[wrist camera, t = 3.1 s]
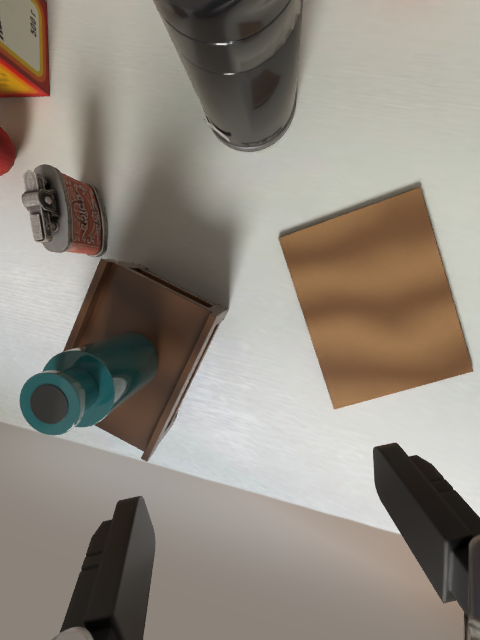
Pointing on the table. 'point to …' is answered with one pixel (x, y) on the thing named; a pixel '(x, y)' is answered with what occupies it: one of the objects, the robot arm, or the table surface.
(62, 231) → the lighter
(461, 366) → the placemat
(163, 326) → the rack
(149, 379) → the vase
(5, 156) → the onion
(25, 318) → the table surface
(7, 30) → the baking soda box
